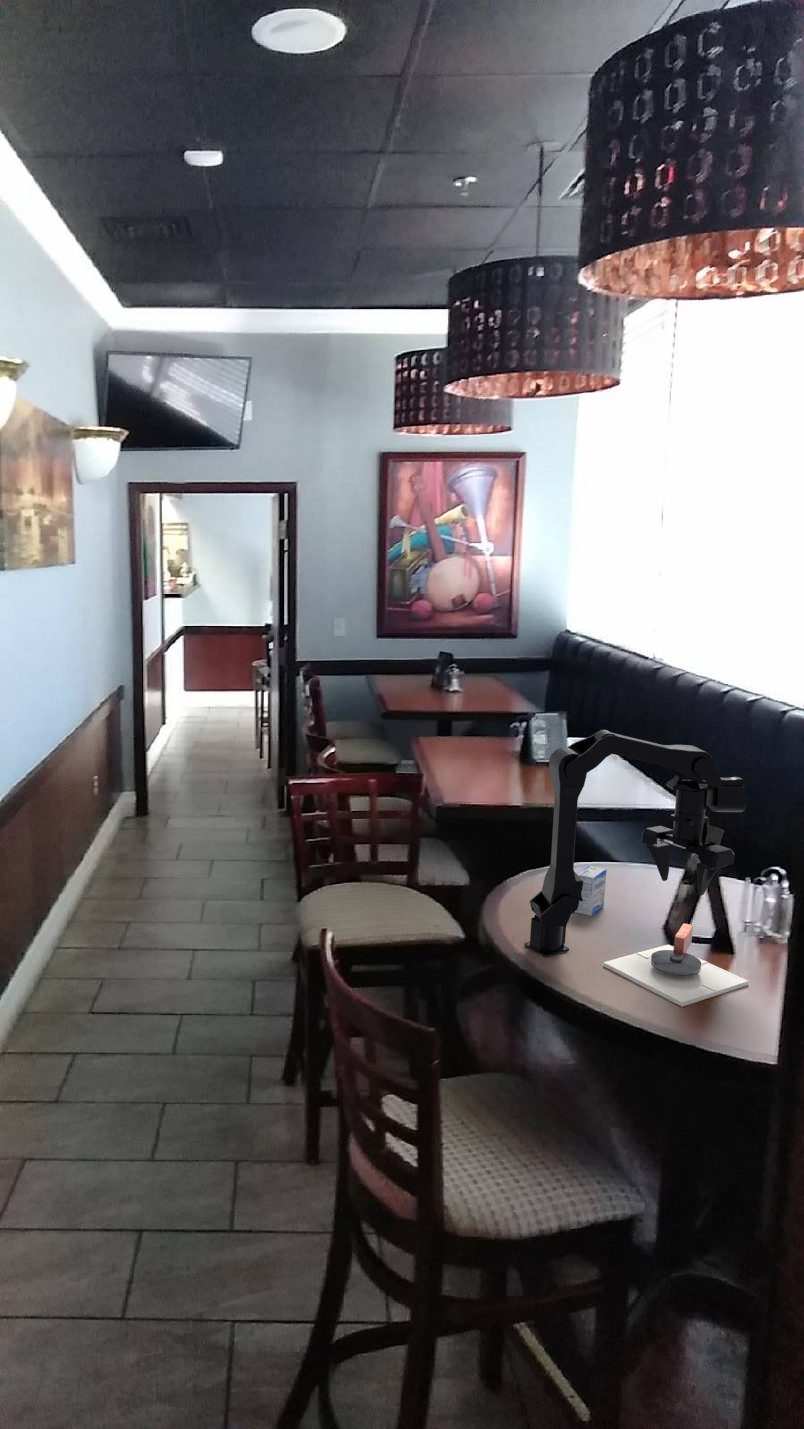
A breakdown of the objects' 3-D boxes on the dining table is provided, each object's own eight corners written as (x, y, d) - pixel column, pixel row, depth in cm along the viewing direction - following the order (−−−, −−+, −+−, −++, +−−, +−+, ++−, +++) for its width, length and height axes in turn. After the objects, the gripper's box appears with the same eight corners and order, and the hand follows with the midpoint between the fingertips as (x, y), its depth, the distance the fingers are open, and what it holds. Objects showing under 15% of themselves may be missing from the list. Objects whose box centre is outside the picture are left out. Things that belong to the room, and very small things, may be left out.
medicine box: (591, 916, 214) (594, 878, 213) (571, 912, 217) (574, 873, 215) (604, 906, 221) (607, 869, 219) (585, 902, 223) (588, 864, 222)
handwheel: (709, 953, 192) (712, 929, 192) (695, 980, 180) (698, 954, 179) (662, 943, 196) (664, 919, 196) (645, 968, 184) (648, 943, 183)
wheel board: (682, 1006, 174) (682, 998, 173) (603, 966, 189) (603, 958, 189) (748, 984, 184) (748, 977, 183) (668, 948, 199) (668, 941, 199)
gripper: (756, 818, 192) (748, 895, 195) (680, 795, 207) (673, 868, 210) (718, 825, 186) (710, 905, 188) (642, 801, 201) (636, 875, 204)
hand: (682, 887), depth 198 cm, fingers open, 9 cm apart
